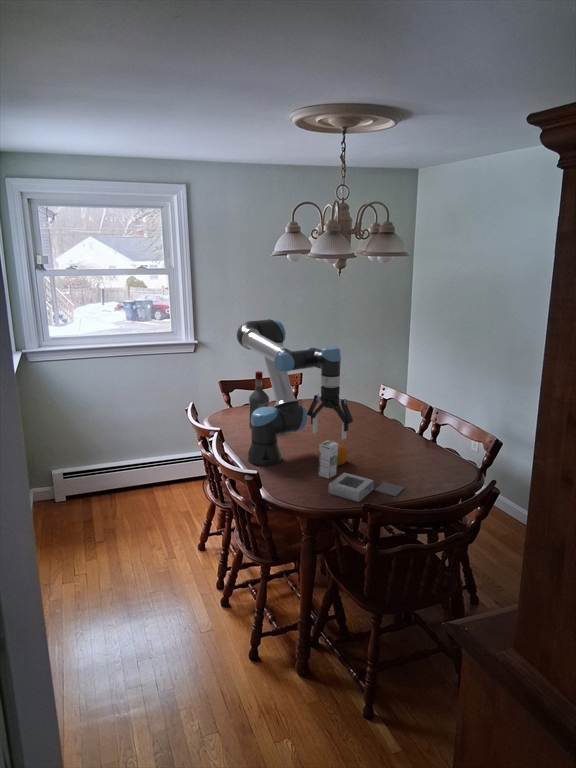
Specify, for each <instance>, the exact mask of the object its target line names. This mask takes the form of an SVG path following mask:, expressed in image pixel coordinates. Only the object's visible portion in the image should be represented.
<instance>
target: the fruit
mask: <svg viewBox="0 0 576 768" xmlns="http://www.w3.org/2000/svg"><path fill="white" fill-rule="evenodd" d="M334 442H335V443H337V442H336V441H334ZM347 451H348V450H347V449H346V448H345V447H344V446H343V445H342V444H340V443H338V457H337V467H339V466H341V465H343V464H345V463H346V461H347V460H348V457H349V455H348V452H347Z"/></svg>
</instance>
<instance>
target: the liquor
mask: <svg viewBox="0 0 576 768" xmlns="http://www.w3.org/2000/svg"><path fill="white" fill-rule="evenodd" d="M254 374H255V378H254V379H255V389H254V390H253V392H252V393H251V394H250V395H249V397H248V402H249V403H248V409H249V410H248V413H249V417H248V418H249V422H248V423H249V425H248V426H249V427H250V428H249V429H251V416H252V413H253V411H255V410H256V409H258V408H261V407H269V406H270V397H269V395H268V394H267V393H266V392H265V391H264V389H263V376H264V375H263V371H255V373H254Z"/></svg>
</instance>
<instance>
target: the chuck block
mask: <svg viewBox="0 0 576 768" xmlns="http://www.w3.org/2000/svg"><path fill="white" fill-rule="evenodd" d="M374 482H375V481H374V479H370V478H366V477H363V476H359V475H356V474H355V475H354V474H351V473H347V472H343V473H341V474H340V475H339V476H338V477H336V478H334V479H333V480H331V482H329V483H328V494H329V495H332V494H333V496H337V497H339V498H344V499H347V500H350V501H353V502H356V503H357V502H358V503H360V501H362V500H363V499H364V498H365V497H366V496H368V494H369V493H371V492H372V491H373V490H374Z"/></svg>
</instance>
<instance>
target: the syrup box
mask: <svg viewBox="0 0 576 768" xmlns="http://www.w3.org/2000/svg"><path fill="white" fill-rule="evenodd" d="M335 442H336V441H332V440H325V441H323V442H320V443H319V445H318V446H319V447H318V470H317V471H318V472H317V475H318V477H323V478H324V479H327V480H328V479H331V478H333V477H335V476H337V473H338V472H337V471H338V466H337V457H338V444H339V443H338V442H336V443H335Z"/></svg>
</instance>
